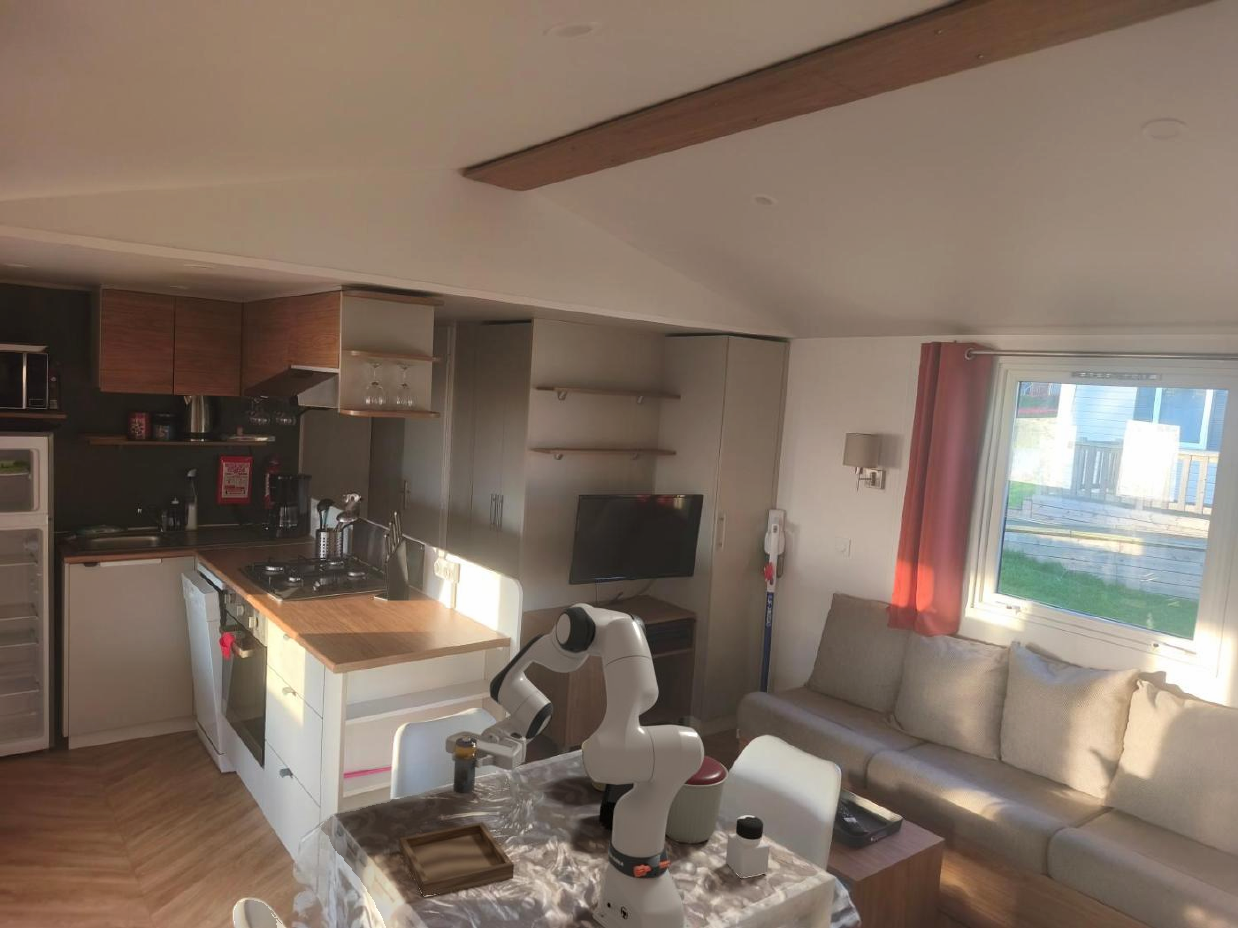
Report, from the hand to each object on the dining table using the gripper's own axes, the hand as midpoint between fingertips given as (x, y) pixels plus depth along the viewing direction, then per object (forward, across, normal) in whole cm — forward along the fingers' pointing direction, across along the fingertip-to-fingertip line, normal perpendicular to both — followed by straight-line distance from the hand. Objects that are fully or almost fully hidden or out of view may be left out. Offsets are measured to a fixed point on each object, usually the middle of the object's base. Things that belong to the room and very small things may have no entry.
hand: (465, 761), depth 208 cm
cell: (0, 0, +7) cm, 7 cm away
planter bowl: (-40, +20, +16) cm, 47 cm away
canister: (-27, +48, +17) cm, 58 cm away
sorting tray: (+15, +9, +16) cm, 24 cm away
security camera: (-21, +32, +16) cm, 41 cm away
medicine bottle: (-20, +66, +17) cm, 71 cm away
